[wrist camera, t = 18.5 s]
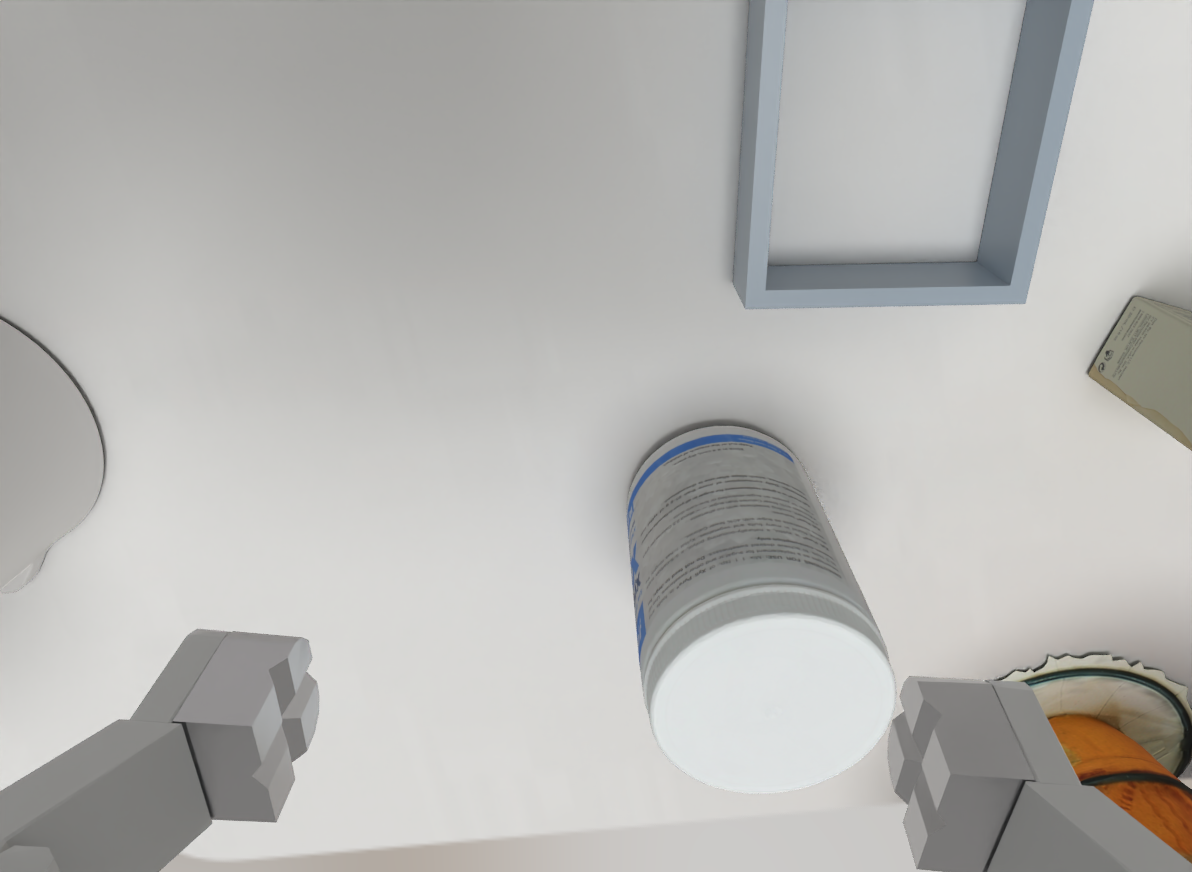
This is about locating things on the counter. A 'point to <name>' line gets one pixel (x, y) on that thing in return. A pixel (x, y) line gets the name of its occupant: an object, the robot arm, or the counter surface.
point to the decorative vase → (1123, 737)
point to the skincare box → (1151, 365)
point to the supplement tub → (750, 618)
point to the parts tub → (1014, 196)
